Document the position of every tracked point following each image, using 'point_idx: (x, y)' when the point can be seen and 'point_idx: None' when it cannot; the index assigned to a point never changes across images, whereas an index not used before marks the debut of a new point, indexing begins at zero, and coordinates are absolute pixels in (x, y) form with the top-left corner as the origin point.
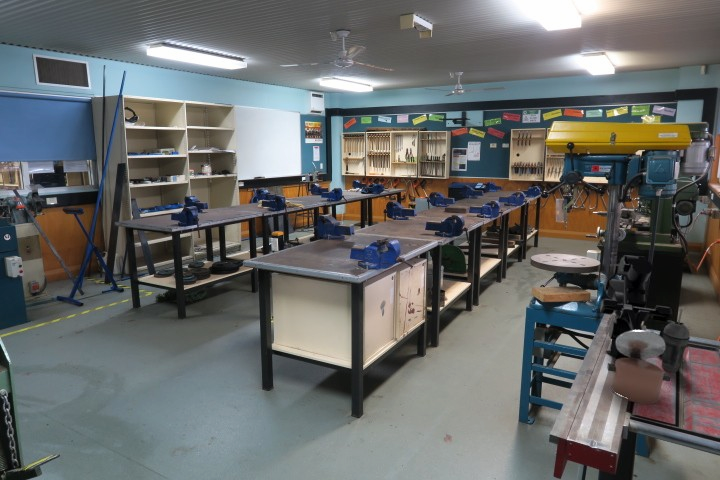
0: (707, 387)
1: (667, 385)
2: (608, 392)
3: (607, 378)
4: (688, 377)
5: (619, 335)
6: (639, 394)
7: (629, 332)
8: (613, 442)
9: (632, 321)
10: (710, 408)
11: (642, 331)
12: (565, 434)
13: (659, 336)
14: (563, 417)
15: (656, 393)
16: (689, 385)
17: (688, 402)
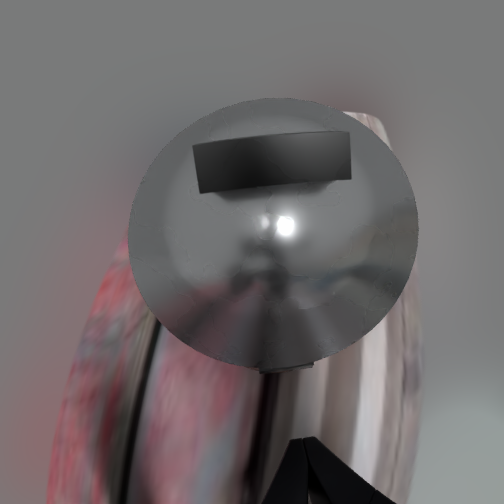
0: (65, 433)
1: (163, 412)
2: None
3: (356, 365)
4: (96, 485)
5: (413, 195)
6: None
7: (365, 130)
8: None
9: (372, 498)
10: (95, 310)
11: (285, 98)
12: (369, 117)
13: (164, 149)
14: (389, 144)
15: None
16: (102, 434)
17: (133, 320)
